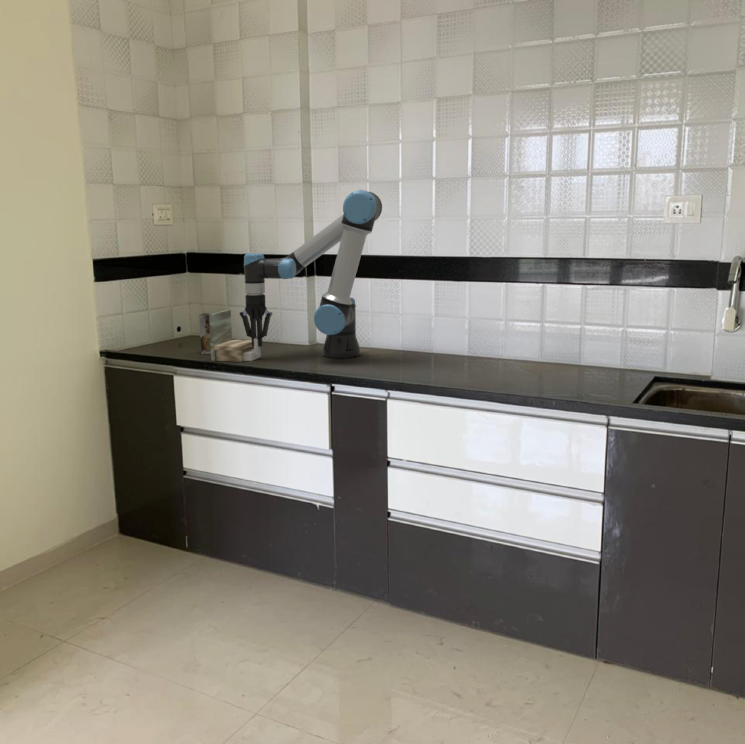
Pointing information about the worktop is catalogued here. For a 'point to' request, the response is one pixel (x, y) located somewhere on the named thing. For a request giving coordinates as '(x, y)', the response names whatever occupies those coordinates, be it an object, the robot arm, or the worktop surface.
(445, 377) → the worktop surface
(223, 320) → the upright marbled panel
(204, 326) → the coffee box
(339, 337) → the robot arm
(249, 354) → the flat white block
